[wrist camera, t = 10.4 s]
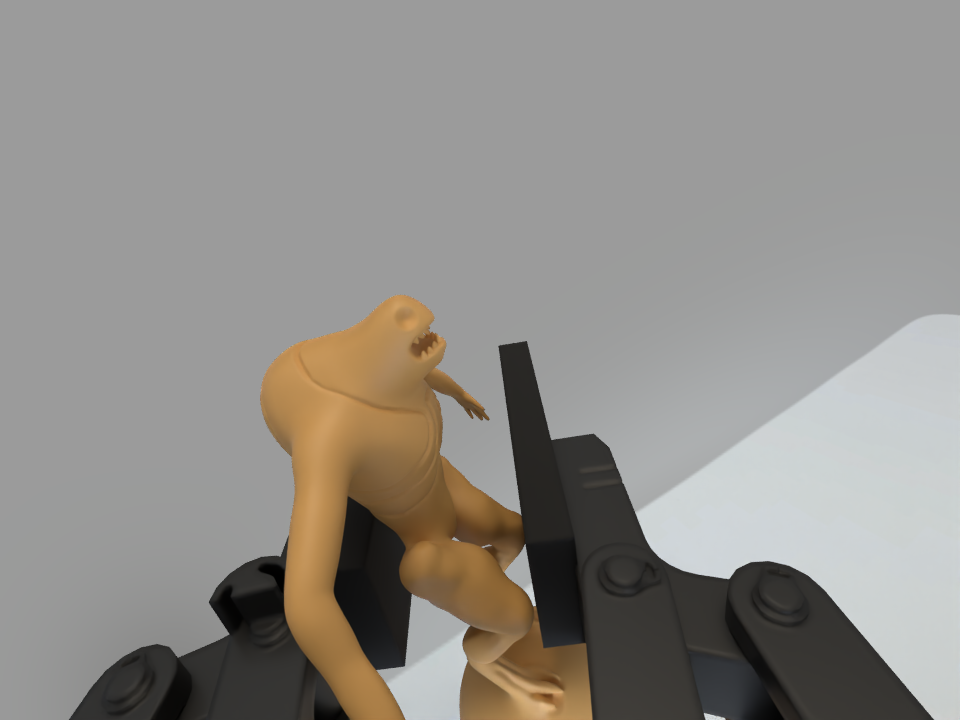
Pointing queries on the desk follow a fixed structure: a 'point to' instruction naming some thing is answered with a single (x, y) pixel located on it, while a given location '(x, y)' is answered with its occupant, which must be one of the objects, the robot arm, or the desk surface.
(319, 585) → the figurine
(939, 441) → the desk surface
